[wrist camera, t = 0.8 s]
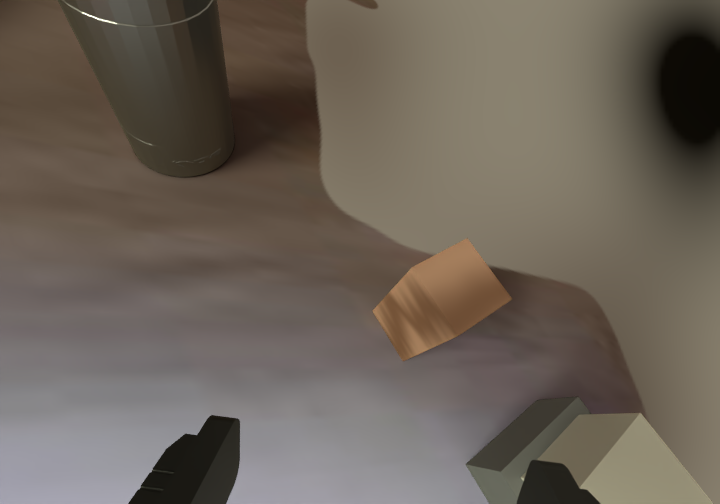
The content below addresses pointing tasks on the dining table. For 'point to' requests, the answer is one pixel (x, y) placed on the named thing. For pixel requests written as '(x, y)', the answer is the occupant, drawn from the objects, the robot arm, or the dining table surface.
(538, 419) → the tower base
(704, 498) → the tower top
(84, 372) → the dining table surface
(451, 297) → the wooden block
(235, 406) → the dining table surface
